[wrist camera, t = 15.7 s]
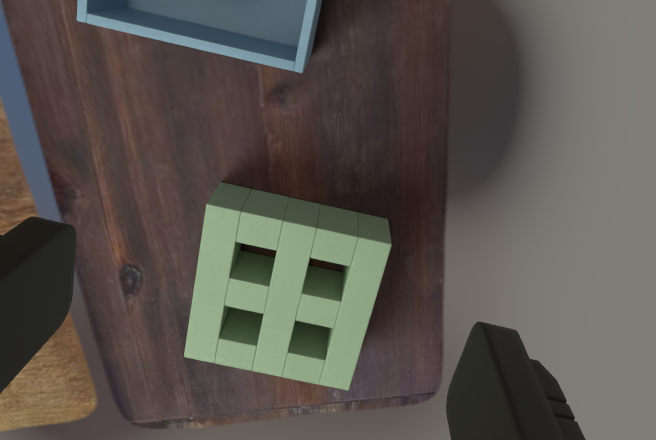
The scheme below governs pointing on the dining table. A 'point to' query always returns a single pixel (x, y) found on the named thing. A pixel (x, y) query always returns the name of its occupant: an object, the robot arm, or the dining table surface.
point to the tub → (218, 26)
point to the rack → (285, 286)
